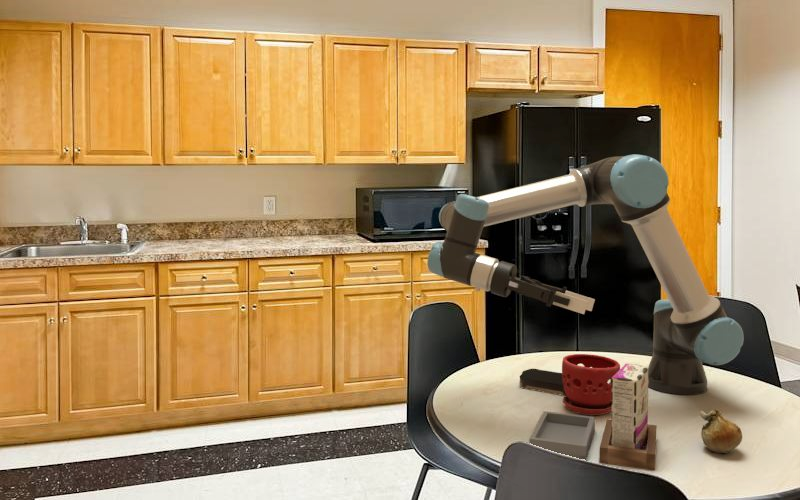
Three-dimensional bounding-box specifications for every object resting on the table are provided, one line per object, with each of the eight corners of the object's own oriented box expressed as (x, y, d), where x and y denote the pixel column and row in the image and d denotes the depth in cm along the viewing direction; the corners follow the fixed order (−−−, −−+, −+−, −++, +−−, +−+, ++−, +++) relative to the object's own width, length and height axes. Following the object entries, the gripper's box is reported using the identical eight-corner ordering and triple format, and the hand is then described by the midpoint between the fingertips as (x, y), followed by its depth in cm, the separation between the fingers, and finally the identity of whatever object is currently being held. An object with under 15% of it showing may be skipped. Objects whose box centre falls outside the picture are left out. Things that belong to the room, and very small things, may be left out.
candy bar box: (623, 438, 141) (625, 362, 140) (647, 443, 139) (650, 365, 137) (608, 457, 132) (610, 376, 130) (635, 463, 129) (637, 380, 128)
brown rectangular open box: (656, 439, 141) (656, 420, 140) (654, 470, 126) (655, 449, 126) (606, 432, 145) (606, 414, 144) (599, 462, 130) (599, 442, 129)
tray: (594, 430, 146) (594, 417, 146) (585, 461, 130) (585, 446, 130) (543, 424, 150) (543, 411, 150) (528, 453, 134) (529, 438, 134)
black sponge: (587, 390, 174) (587, 376, 174) (575, 399, 167) (575, 385, 167) (528, 380, 183) (528, 367, 183) (515, 388, 177) (515, 374, 176)
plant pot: (588, 423, 151) (589, 370, 149) (549, 405, 162) (550, 357, 161) (630, 413, 157) (632, 362, 155) (590, 397, 168) (591, 350, 167)
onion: (700, 456, 132) (702, 417, 131) (698, 441, 140) (699, 404, 139) (743, 461, 130) (745, 421, 129) (738, 446, 137) (740, 408, 136)
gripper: (502, 291, 161) (590, 320, 153) (474, 293, 138) (576, 327, 130) (512, 261, 160) (600, 288, 152) (485, 258, 137) (588, 290, 129)
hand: (590, 306), depth 141 cm, fingers open, 13 cm apart
